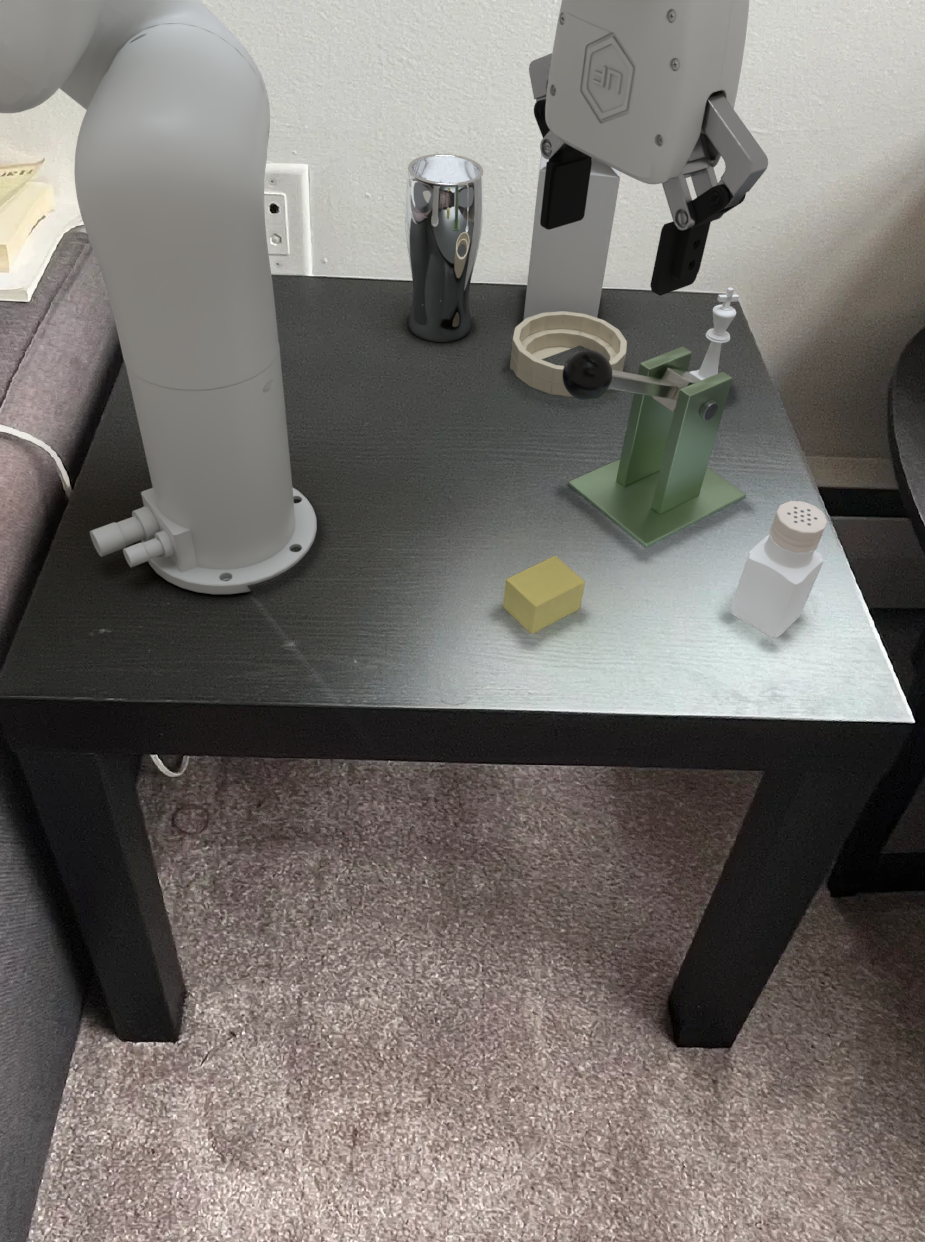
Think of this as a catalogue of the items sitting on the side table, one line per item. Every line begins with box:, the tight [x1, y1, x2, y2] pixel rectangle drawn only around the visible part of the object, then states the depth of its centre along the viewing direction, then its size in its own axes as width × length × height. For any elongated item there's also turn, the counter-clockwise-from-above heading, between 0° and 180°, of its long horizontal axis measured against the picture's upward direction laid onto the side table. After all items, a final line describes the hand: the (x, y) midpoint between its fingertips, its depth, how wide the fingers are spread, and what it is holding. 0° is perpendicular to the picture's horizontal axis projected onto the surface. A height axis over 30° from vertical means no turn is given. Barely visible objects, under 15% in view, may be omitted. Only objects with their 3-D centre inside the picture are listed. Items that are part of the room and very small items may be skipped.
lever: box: [563, 349, 701, 412], centre depth 67 cm, size 14×3×3 cm, turn 126°
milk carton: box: [522, 153, 621, 321], centre depth 92 cm, size 7×7×19 cm
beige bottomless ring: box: [509, 311, 628, 398], centre depth 89 cm, size 10×10×4 cm
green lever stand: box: [567, 346, 747, 549], centre depth 74 cm, size 11×9×12 cm
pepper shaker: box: [728, 500, 828, 639], centre depth 66 cm, size 4×4×10 cm
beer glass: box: [404, 153, 484, 343], centre depth 90 cm, size 7×7×15 cm
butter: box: [502, 555, 586, 635], centre depth 67 cm, size 4×3×4 cm
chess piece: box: [688, 286, 740, 380], centre depth 86 cm, size 5×5×10 cm
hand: (614, 254), depth 59 cm, fingers open, 9 cm apart
